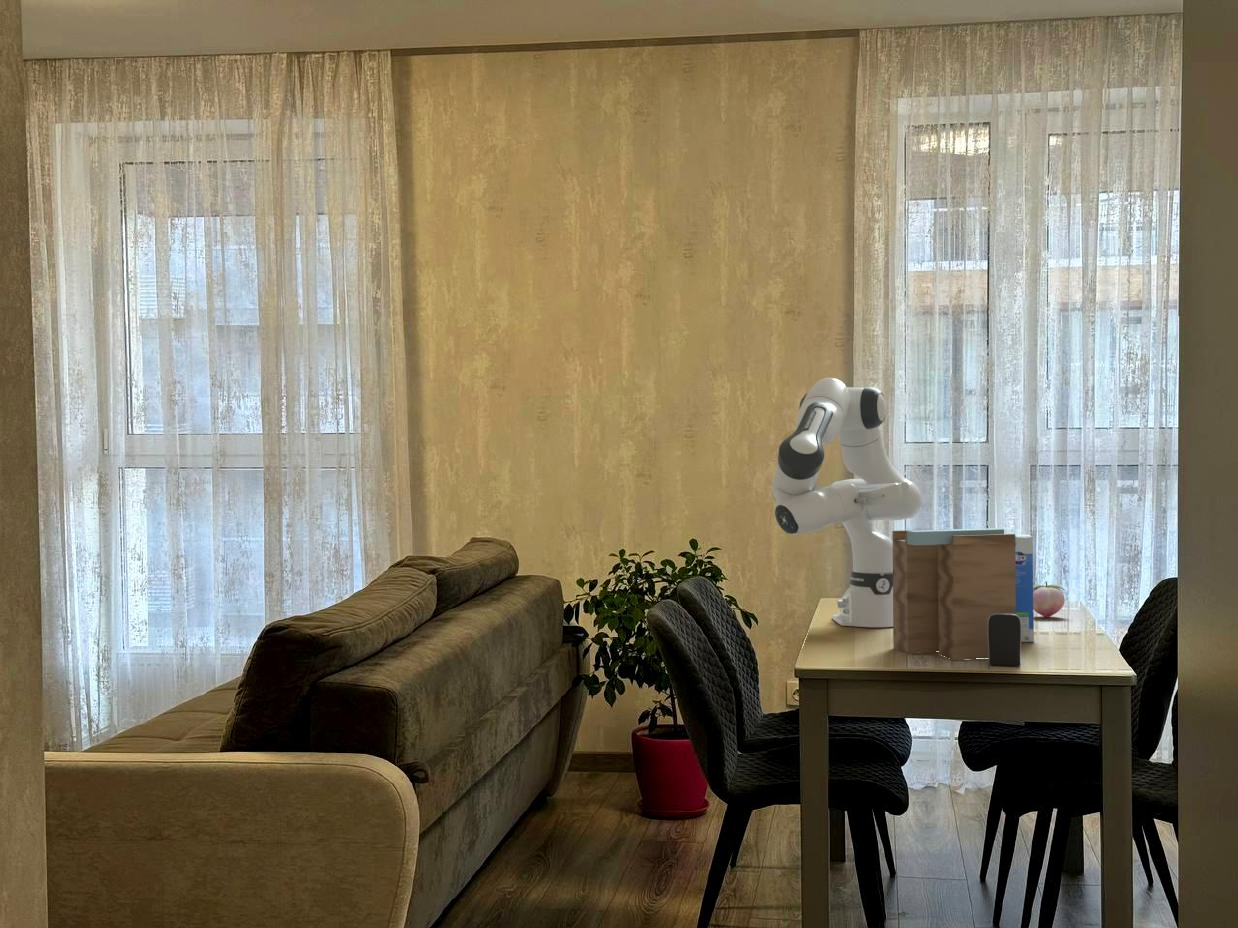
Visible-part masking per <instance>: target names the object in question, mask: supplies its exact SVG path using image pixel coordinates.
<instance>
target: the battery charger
mask: <svg viewBox="0 0 1238 928" xmlns="http://www.w3.org/2000/svg"><path fill="white" fill-rule="evenodd" d="M1021 646H1022V642H1021V621H1020V618H1019V617H1018V616H1017V615H1016V614H1012V613H993V614H991V615H990V616H989V619H988V647H989V659H988V665H990V666H994V665H996V666H995V667H1020V666H1021V663H1022V662H1021V651H1022V649H1021V648H1022V647H1021Z"/></svg>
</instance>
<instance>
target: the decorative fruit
mask: <svg viewBox="0 0 1238 928" xmlns="http://www.w3.org/2000/svg"><path fill="white" fill-rule="evenodd" d="M1063 591H1065V588H1064V587H1062V586H1061V585H1058V584H1049V585H1048V581H1045V585H1043V584H1041V585H1039V584H1037V585H1033V611H1034V612H1036V613H1037V614H1039V615H1040V616H1043V617H1044V618H1047V619H1048V618H1050V617H1053V616H1054V615H1055V614H1057V613H1058V612H1060V611H1061V610H1062V608H1063V607H1064V605H1065V601H1066V600H1065V595H1064V592H1063Z"/></svg>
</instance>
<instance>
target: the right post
mask: <svg viewBox="0 0 1238 928" xmlns="http://www.w3.org/2000/svg"><path fill="white" fill-rule="evenodd" d="M1015 535H1016V534H1015V533H1004V534H992V535H959V536H952V544H939V545H938V637H939V652H938V656H940V655H942V656H945V657H947V658H946V659H948V658H950V659H949V660H951V659H952V660H951V661H953V660H964V659H976V658H989V647H988V619H989V616H990V615H991V614H993V613H1012V614H1016V563H1015ZM942 656H941V657H942ZM945 657H944V658H945ZM964 661H965V660H964Z"/></svg>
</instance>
